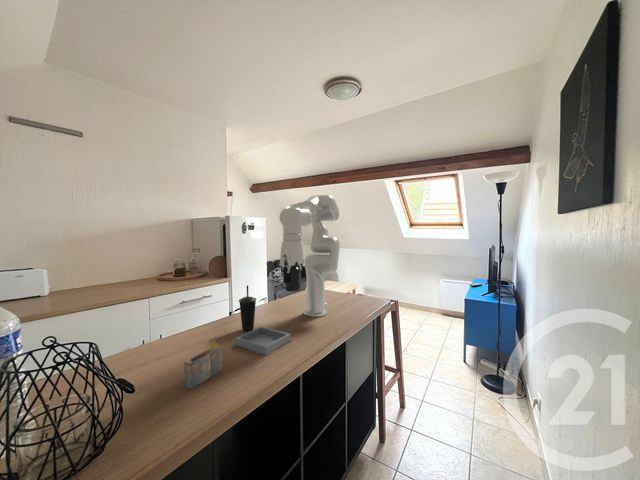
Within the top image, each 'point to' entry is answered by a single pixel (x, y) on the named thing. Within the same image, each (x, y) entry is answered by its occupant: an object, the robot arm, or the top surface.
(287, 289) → the supplement bottle
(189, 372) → the grey thin box
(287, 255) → the robot arm
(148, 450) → the top surface
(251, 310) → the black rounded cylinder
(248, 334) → the tray
